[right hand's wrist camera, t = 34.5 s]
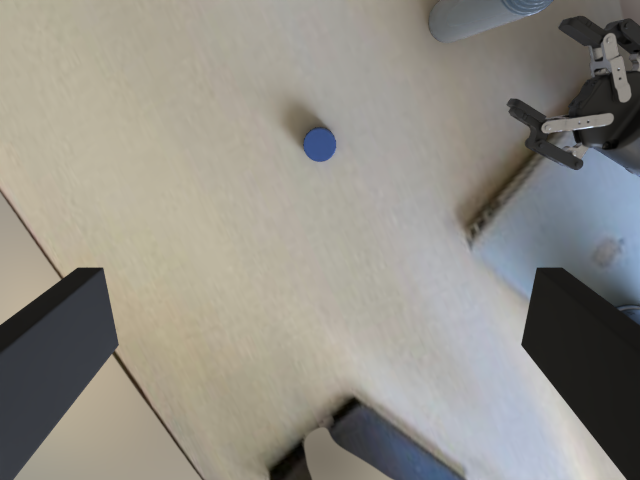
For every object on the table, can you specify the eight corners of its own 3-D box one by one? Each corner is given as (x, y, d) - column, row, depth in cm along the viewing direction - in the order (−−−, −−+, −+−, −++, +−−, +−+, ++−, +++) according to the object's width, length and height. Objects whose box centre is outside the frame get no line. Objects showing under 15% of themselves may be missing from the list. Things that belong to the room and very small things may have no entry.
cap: (324, 165, 52) (324, 168, 50) (297, 148, 51) (296, 150, 49) (342, 138, 51) (342, 140, 49) (314, 120, 50) (314, 121, 48)
